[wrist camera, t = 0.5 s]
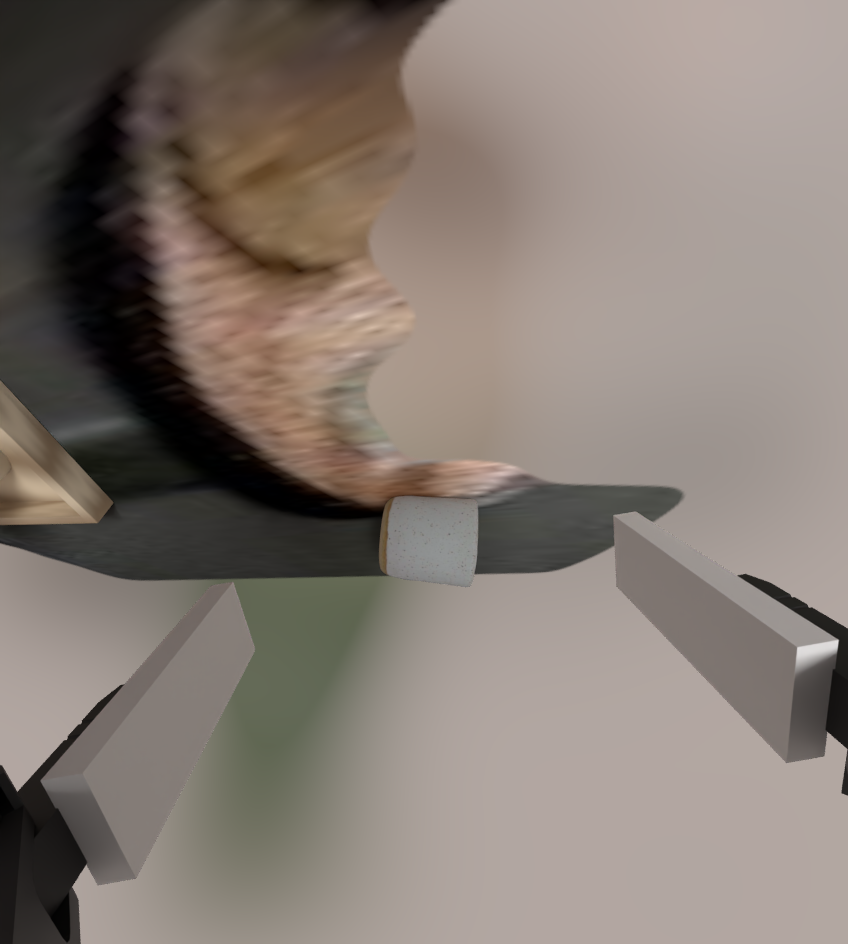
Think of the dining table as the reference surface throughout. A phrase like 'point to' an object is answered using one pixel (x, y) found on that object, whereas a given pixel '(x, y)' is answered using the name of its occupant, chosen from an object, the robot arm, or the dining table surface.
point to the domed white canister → (4, 465)
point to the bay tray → (42, 474)
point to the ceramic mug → (430, 539)
